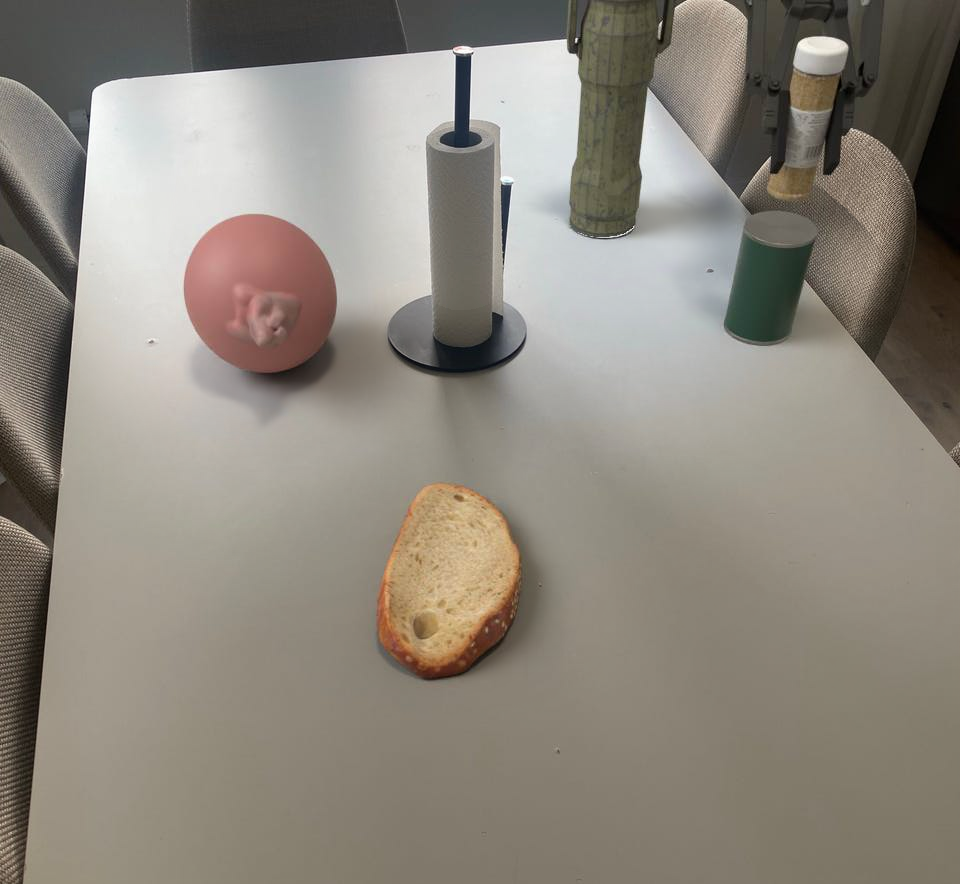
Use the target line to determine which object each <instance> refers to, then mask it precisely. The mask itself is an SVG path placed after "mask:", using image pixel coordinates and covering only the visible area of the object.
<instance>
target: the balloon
mask: <svg viewBox="0 0 960 884" xmlns="http://www.w3.org/2000/svg"><path fill="white" fill-rule="evenodd" d="M337 291H338V290H337V285H336V279H335V276H334V273H333V270H332V267H331V265H330V263H329V260H328V259H327V257H326V255H325V253H324V252H323V250H322V249H321V248H320V246H319V245H318V244H317V242H316V241H315V240H314V239H313V238H312V237H311V236H310V235H308V233H306V232H305V231H304V230H302V229H301V228H300V227H298V226H297V225H295V224H294V223H291V222H290V221H288V220H285V219H283V218H281V217H277V216H274V215H269V214H265V213H246V214H245V213H244V214H239V215H235V216H232V217H229V218H226V219H224V220H223V221H221V222H219V223H217V224H215V225H214V226H212V227H211V228H210V229H209V230H208V231H206V232H205V233H204V234H203V235H202V237H200V239H199V240H198V241H197V242H196V244H195V245H194V247H193V248H192V251H191V253H190V255H189V257H188V260H187V263H186V267H185V271H184V276H183V298H184V299H183V300H184V305H185V308H186V313H187V315H188V318H189V320H190V323H191V325H192V327H193V328H194V331H195V332H196V333H197V335H198V336H199V338H200V339H201V341H202V342H203V343H204V344H205V346H206V347H207V348H208V349H209V350H210V351H211V352H213V353H214V354H215V356H217V357H219V358H220V359H221V360H223V361H225V362H226V363H228V364H230V365H232V366H234V367H236V368H238V369H241V370H245V371H247V372H248V371H249V372H252V373H258V374H259V373H261V374H272V373H280V372H284V371H288V370H291V369H293V368H296V367H298V366H300V365H302V364H303V363H305V362H307V361H308V360H309V359H310V358H311V357H313V356H314V355H315V354H316V353H317V352H318V351H319V350H320V349H321V348H322V346H323V344H325V342H326V340H328V337H329V335H330V333H331V331H332V329H333V326H334V323H335V319H336V314H337V307H338V293H337Z"/></svg>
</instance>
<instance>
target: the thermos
mask: <svg viewBox="0 0 960 884" xmlns="http://www.w3.org/2000/svg"><path fill="white" fill-rule="evenodd" d="M676 2H677V0H664V3H663V12H662V20H661V26H660V19H659V12H658V7H657V0H587V4H586V7H585V10H584V12H583V16H582V19H581V22H580V36H578V37H577V22H578V8H579V7H578V6H579V0H567V13H566V14H567V18H566V50H567V52H568V53H569V54H570V55H571V54H572V55H576V58H577V59H578V67H577V75H578V78H579V81H580V97H579V115H578V129H577V145H576V147H577V148H576V157H575V160H574V162H573V165H572V168H571V174H570V185H569V203H568V204H569V207H570V215H569V223H570V224H569V223H568V224H569V226H570V225H571V226H570V228H571V227H572V228H573V229H574V230H575V231H576V232H575V231H574V230H573V229H572V228H571V229H572V230H573V231H574V232H575V233H577V232H579V233H582V234H584V235H587V236H593V237H610V236H617V235H620V234H624V233H626V232H627V231H629V230H630V229H632V228H633V226H634V225H635V226H636V223H637V222H636V221H637V217H636V216H637V211H638V209H639V206H640V197H641V189H642V181H643V173H642V170H641V165H640V159H641V150H642V141H643V133H644V124H645V115H646V108H647V107H646V106H647V97H648V89H649V86H650V83H651V82H652V79H653V78H654V71H655V63H656V59H658V56H659V55H661V54H662V53H664V51H666V50H667V49H668V48H669V47H670V46H671V45H672V36H673V27H674V17H675V12H676V4H677V3H676ZM660 27H661V28H660ZM659 29H660V36H659ZM658 37H659V38H658ZM576 38H577V40H576ZM579 233H578V234H579Z"/></svg>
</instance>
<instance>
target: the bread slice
mask: <svg viewBox="0 0 960 884" xmlns="http://www.w3.org/2000/svg"><path fill="white" fill-rule="evenodd" d="M513 538H514V537H513V535H512V532H511V528H510V525H509V522H508V521H507V519H506V518H505V516H504V515H503V514H502V512H501V511H500V510H499V509H498V508H497V507H496V506H495V505H494V504H493V503H492V502H491V501H490V500H489V499H488V498H487V497H485V496H484V495H482V494H480V493H479V492H477V491H474V490H472V489H470V488H467V487H464V486H463V485H459V484H452V483H445V482H437V483H432V484H429V485H427V486H424V487H422V488H421V491H420V492H419V493H418V494H417V495H416V497H415V498H414V499H413V501H412V503H410V506H409V507H408V511H407V514H406V515H405V516H404V519H403V523H402V524H401V528H400V530H399V532H398V534H397V536H396V539H395V541H394V544H393V546H392V550H391V553H390V555H389V558H388V559H387V563H386V566H385V569H384V573H383V576H382V579H381V583H380V587H379V591H378V595H377V616H376V617H377V621H376V622H377V623H376V625H377V632H378V637H379V640H380V643H381V644H382V645H383V647H384V648H385V650H386V651H387V652H388V653H389V654H390V656H391V657H392V658H393V659H395V661H397V662H398V663H399V664H401V665H402V666H404V667H406V668H408V670H410V671H411V672H413V673H414V675H416V676H417V677H419V678H423V679H429V680H430V679H434V678H439V677H447V676H454V675H458V674H461V673H464V672H465V671H467V670H469V669H470V667H471V666H472V665H473V663H474V662H475V661H477V660H478V658H479V657H480V656H482V655H483V654H484V653H485V652H486V651H488V650H489V649H491V648H492V647H493V646H494V645H496V644H497V643H498V642H499V641H500V640H501V639H502V638H504V636H505V634H506V632H507V631H508V629H509V628H510V626H511V624H512V623H513V621H514V620H515V616H516V611H517V609H518V605H519V599H520V594H521V588H522V586H521V585H522V581H523V576H522V573H523V562H522V557H521V553H520V550H519V547H518V546H517V545H516V544H515V540H514V539H513Z"/></svg>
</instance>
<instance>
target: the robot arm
mask: <svg viewBox="0 0 960 884" xmlns="http://www.w3.org/2000/svg"><path fill="white" fill-rule="evenodd" d="M779 1H780V2H781V4H782V6H783V7H784V9H785V14H784V17H783V18H784V19H783V22H782V25H781V30H780V34H779V38H778V41H777V44H776V49H775V51H774V55H773V58H772V63H771V65H770V70H769V73H768V75H766V74H764V71H765V69H764V68H765V50H766V49H765V47H766V46H765V45H766V26H767V3H768V0H743V3H744V6H745V10H746V13H747V24H746V25H747V27H746V49H745V71H744V72H745V73H744V92H745V94H746V95H748V96H753V95H756V96H758V97H760V103H761V104H762V107H763V108H762V121H761V122H762V124H761V131H762V133H763V135H767V136H770V135H771V148H770V164H769V175H771V174H778V173H779V171H780V169H781V168H782V166H783V164H784V163H785V154H786V139H787V124H788V109H789V94H790V90H789V89H782V86H783V82H784V79H785V75H786V72H787V68H788V65H789V62H790V58H791V56H792V55H791V54H792V51H793V48H794V44H795V40H796V37H797V33H798V30H799V26H800V22H801V21H806V20H810V19H813V20H816V21H820V22H822V28H823V32H824V34H825V35H826V37H831V38H836V39H839V40H842V41H844V42H845V43H846V44H847V45H848V54H847V58H846V63H845V66H844V69H843V70H842V74H841V75H840V78H839V82H838V86H837V90H836V95H835V99H834V102H833V110H832V114H831V118H830V122H829V126H828V130H827V134H826V138H825V142H824V152H823V166H822V167H823V170H822V176H832V174H833V173H834V172H835V171H836V169H837V168H838V166H839V165H840V163H841V153H842V152H841V151H842V138H843V137H847V134H849V132H850V131H851V130H852V127H853V125H854V115H855V99H856V98H864V97H866V96H867V95H868V94H869V92H870V91H871V89H872V88H873V86H874V85H875V84H876V82H877V80H878V77H879V76H878V75H879V66H880V65H879V63H880V55H881V43H882V32H883V31H882V30H883V20H884V8H885V2H886V1H885V0H860V2H861V6H862V7H864V9H863V12H862V16H861V25H860V36H859V44H858V45H859V47H858V59H857V70H856V65H855V59H854V52H853V44H852V38H851V32H850V31H851V30H850V24H849V18H848V17H849V16H848V14H849V3H848V1H849V0H779Z"/></svg>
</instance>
